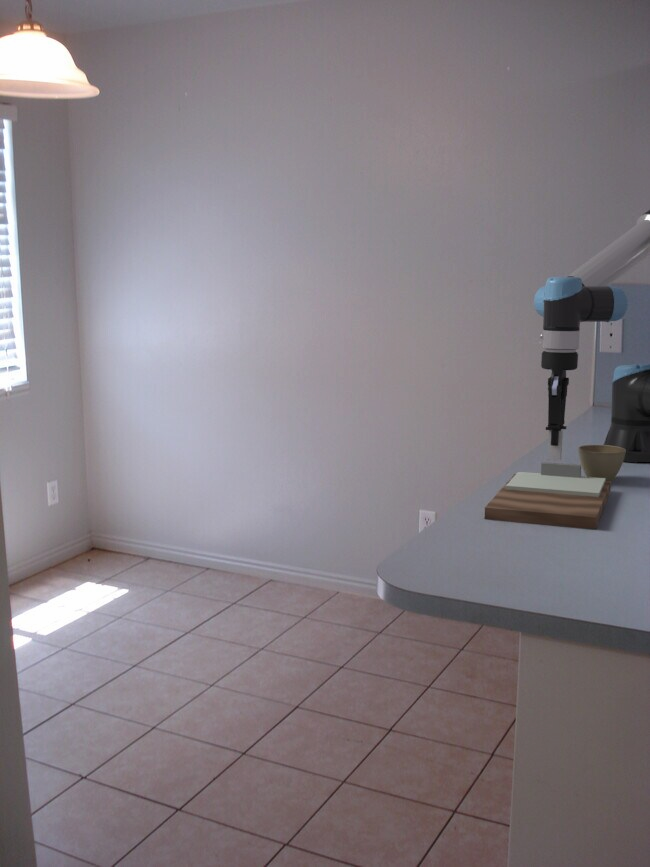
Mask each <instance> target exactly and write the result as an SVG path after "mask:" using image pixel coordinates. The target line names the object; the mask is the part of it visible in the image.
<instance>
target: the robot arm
mask: <svg viewBox="0 0 650 867" xmlns="http://www.w3.org/2000/svg"><path fill="white" fill-rule="evenodd" d="M649 256H650V209H648V210H647V211H646V212H644V213H643V214H642V215H640V216H639V217H638V218H637V221H636V224H635V225H634V226H633V227H631V228H630V229H628V230H627V231H626V232H624V233H623V234H622V235H620V236H619V237H618V238H617V239H615V240H614V241H613V242H611V243H610V244H608V245H607V246H606V247H605V248H603V249H602V250H600V251H599V252H598V253H596V254H595V255H594V256H593V257H591V258H590V259H589V260H587V261H585V263H584V264H581V265H580V266H579V267H578V268H576V269H575V270H574V271H573V272H572V273H570V274H569V275H567V276H566V277H565V276H563V277H562V276H551V277H548V278H547V280H546V281H545V285H544V286H543V285H542V286H541V287H540V288H539V289H538V290H537V291H536V293H535V295H534V298H533V299H534V300H533V306H534V308H535V309H534V310H535V311H536V313H537V314H538V315H539V316H540V317H543V325H542V327H543V328H542V333H540V335H539V338H540V339H541V340H542V339H543V340H542V345H541V346H542V348H543V349H545V350H544V351H542V352H541V362H540V367H541V368H542V369H544V370H551V375H550V377H548V378H547V391H548V394H547V395H548V405H547V406H548V409H547V410H548V411H547V412H548V414H547V415H548V418H547V421H548V422H547V426H545V431H548V440H547V441H548V444H547V447H548V448H547V460H548V461H559V462H561V460H562V452H563V451H562V450H563V432H564V430H567V426H566V425H565V415H566V405H567V402H566V401H567V396H568V386H569V385H570V378H569V377H567V371H575V370H576V369H578V366H579V365H578V363H579V352H577V351H576V350H579V348H580V333H581V331H580V327H581V323H584V322H585V323H588V322H589V323H590V322H591V323H592V322H593V323H603V322H604V323H610V322H616V321H620V320H621V319H623V317H624V316H625V315H626V313H627V310H628V303H629V302H628V301H629V300H628V296H627V293H626V292H625V291H624V290H623V289H622V288H620V287H617V286H611V285H612V284H613V283H614V282H616V281H617V280H619V279H620V278H621V277H622V276H623V275H625V274H627V273H628V272H629V271H630V270H631V269H633V268H634V267H636V266H637V265H638V264H640V263H641V262H642V261H643V260H644V259H646V258H648V257H649ZM611 384H612V389H611V390H612V393H611V418H610V427H609V429H608V432H607V434H606V437H605V439H604V443H603V444H602V445H610V446H617V447H621V448H624V449H625V450H626V453H625V457H624V461H623V463H624V462H626V463H637V462H650V363H639V364H637V363H636V364H623V365H621V364H620V365H618V366H616V368H615V369H614V370H613V380H612V383H611Z"/></svg>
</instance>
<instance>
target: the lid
mask: <svg viewBox="0 0 650 867" xmlns="http://www.w3.org/2000/svg"><path fill="white" fill-rule="evenodd" d="M515 474H516V475H515V476H514V477H513V478H512V477H511V478H512V479H511V478H510V479H511V481H510V482H509V483H508V484H507V485H506V490H517V491H529V492H541V493H554V494H566V495H578V496H590V497H599V495H600V493H601V491H602V489H603V486H604V484H605V479H606V478H595V477H587V476H582V465H581V464H576V463H575V464H574V463H564V462H563V463H561V462H560V463H559V462H547V461H542V462H541V463H540V472H539V473H538V472H528V471H527V472H525V471H524V472H523V471H518V472H516V473H515Z"/></svg>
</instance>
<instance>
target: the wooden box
mask: <svg viewBox="0 0 650 867" xmlns="http://www.w3.org/2000/svg"><path fill="white" fill-rule="evenodd" d="M516 474H517V473H514V474H513V475H512V476H511V477H510V478H509V480H508V481H506V483H505V484H504V485H503V487H501V488H500V490H498V492H497V493H496V494H495V495H494V497H492V499H491V500H490V501H489V503H487V504H486V505H485V506H484V519H485V520H492V521H493V520H494V521H503V522H515V523H524V524H535V525H545V526H555V527H567V528H577V529H589V530H597V527H598V524H599V522H600V519H601V517H602V513H603V511H604V510H605V507H606V504H607V501H608V499H609V497H610V493H611V489H612V487H611V486H612V484H611V483H612V482H611V481H605V484H604V486H603V489H602V491H601V493H600V495H599V497H590V496H578V495H566V494H554V493H541V492H529V491H517V490H506V485H507V484H508V483H509V482H510V481H511V479H512V478H513V477H514V476H515V475H516Z"/></svg>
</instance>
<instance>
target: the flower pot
mask: <svg viewBox="0 0 650 867" xmlns="http://www.w3.org/2000/svg"><path fill="white" fill-rule="evenodd" d="M625 453H626V450H625V449H624V448H621V447H617V446H610V445H603V444H583V445H580V446H578V457H579V461H580V465H581V469H582V470H583V472H584V474H585V477H595V478H606V479H605V481H611V483H612V482H613V481H614V479H615V478H616V477H617V475H618V473H619V472H620V470H621V468H622V466H623V463H624V457H625Z"/></svg>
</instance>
